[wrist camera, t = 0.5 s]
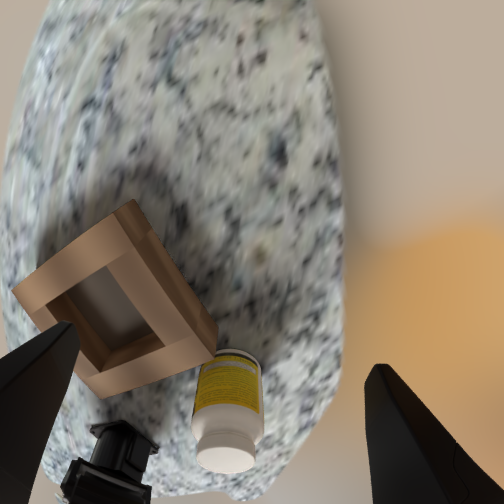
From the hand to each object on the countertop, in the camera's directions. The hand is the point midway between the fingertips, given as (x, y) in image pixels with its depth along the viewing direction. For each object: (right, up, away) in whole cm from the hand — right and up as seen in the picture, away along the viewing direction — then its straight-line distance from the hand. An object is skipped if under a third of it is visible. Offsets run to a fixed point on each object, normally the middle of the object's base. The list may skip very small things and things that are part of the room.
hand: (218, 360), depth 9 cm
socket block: (-10, -1, +16) cm, 19 cm away
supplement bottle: (-1, -7, +19) cm, 20 cm away
